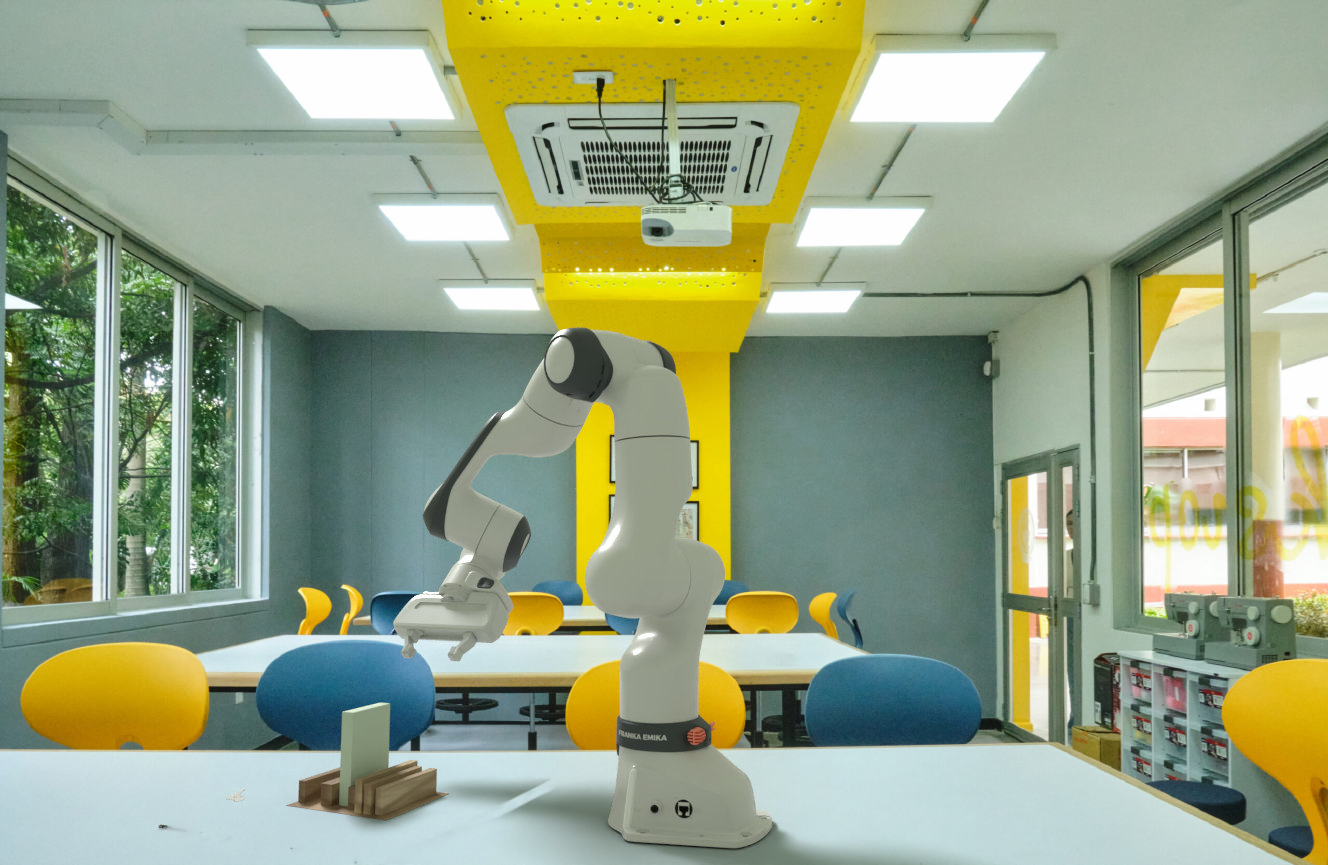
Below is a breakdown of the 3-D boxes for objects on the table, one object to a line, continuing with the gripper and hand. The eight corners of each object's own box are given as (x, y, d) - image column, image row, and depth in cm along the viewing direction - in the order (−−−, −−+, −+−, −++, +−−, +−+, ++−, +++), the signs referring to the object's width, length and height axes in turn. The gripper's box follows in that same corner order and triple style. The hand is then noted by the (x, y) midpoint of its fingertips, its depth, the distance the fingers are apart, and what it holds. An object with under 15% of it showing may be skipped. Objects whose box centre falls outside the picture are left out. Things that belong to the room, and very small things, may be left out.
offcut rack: (449, 801, 137) (450, 762, 138) (385, 829, 124) (387, 785, 125) (354, 789, 144) (355, 751, 145) (285, 813, 131) (287, 772, 132)
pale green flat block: (387, 792, 138) (390, 703, 139) (350, 806, 131) (352, 712, 132) (377, 790, 139) (379, 702, 140) (339, 804, 131) (342, 711, 133)
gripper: (409, 580, 162) (369, 642, 152) (508, 581, 154) (472, 647, 144) (425, 604, 166) (387, 666, 156) (522, 606, 158) (488, 672, 148)
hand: (429, 657), depth 150 cm, fingers open, 8 cm apart
